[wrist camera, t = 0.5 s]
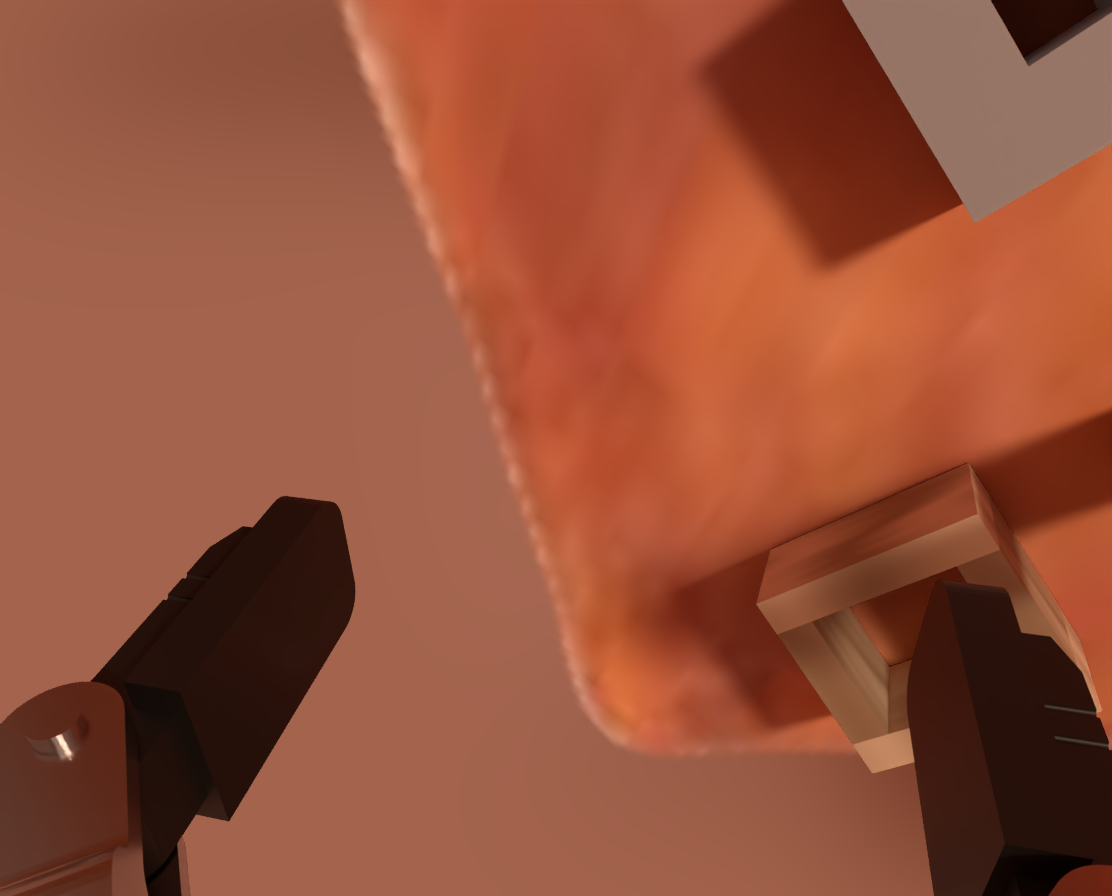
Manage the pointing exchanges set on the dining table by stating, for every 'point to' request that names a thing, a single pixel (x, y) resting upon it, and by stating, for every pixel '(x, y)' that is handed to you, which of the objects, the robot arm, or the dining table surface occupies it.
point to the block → (994, 92)
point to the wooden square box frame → (880, 567)
